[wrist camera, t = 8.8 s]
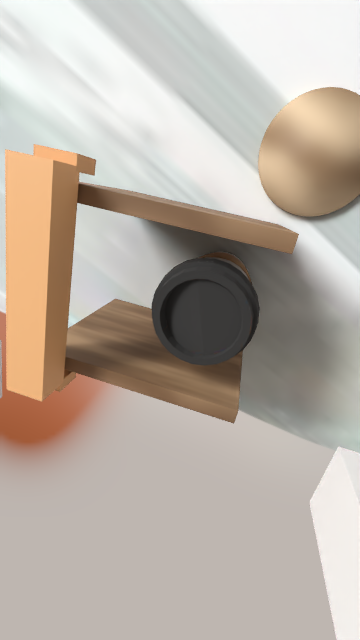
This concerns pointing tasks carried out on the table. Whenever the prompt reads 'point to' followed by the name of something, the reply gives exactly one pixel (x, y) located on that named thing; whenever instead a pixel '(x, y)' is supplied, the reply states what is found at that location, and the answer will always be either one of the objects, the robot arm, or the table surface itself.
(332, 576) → the robot arm
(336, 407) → the table surface
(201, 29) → the table surface
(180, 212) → the cradle
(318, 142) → the coaster
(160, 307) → the coffee cup
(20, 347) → the orange notched bar
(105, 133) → the table surface
